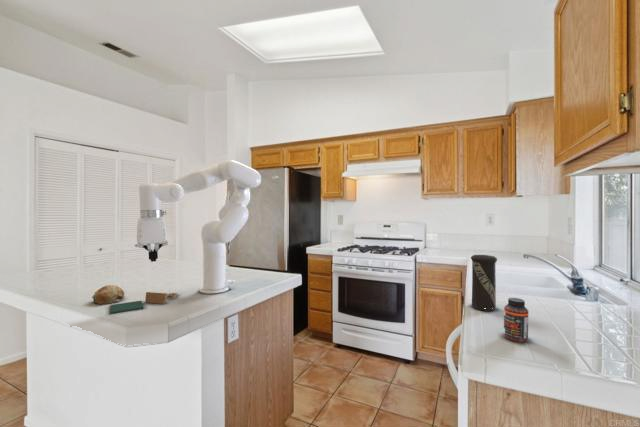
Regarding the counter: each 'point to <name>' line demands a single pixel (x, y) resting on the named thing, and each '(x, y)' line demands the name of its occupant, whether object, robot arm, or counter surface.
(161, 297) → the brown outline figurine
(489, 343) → the counter surface
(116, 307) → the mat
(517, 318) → the supplement bottle
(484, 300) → the container
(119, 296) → the bread roll
